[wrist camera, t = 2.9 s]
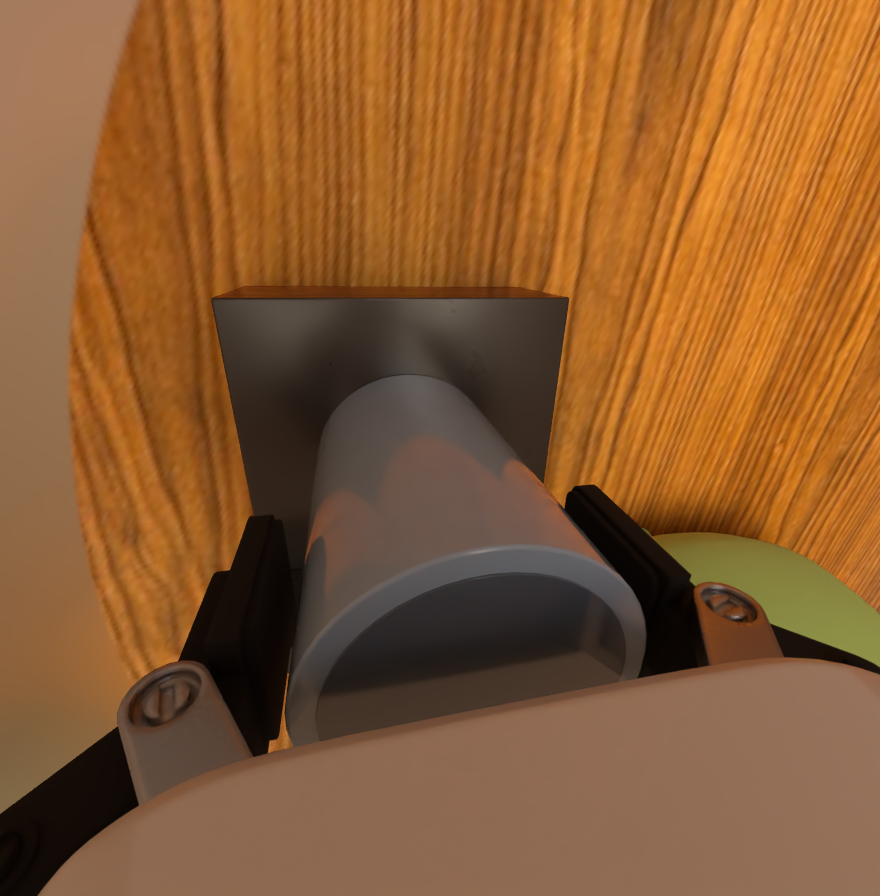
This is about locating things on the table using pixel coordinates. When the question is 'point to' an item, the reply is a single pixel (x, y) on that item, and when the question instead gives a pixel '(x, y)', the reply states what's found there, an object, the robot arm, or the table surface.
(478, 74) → the table surface
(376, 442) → the blue cup
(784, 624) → the teapot
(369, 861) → the robot arm
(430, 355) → the shelf
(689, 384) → the table surface
